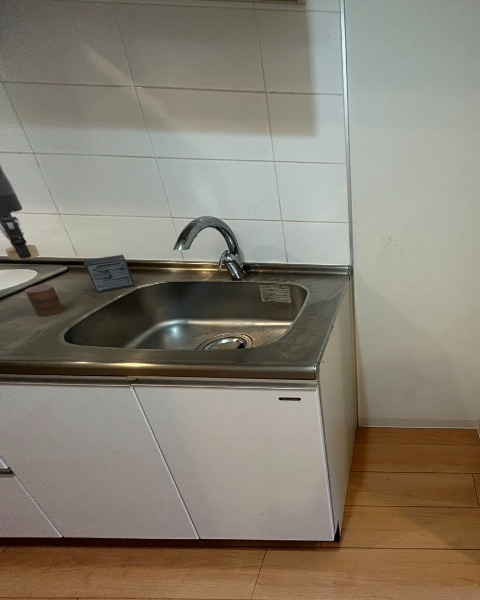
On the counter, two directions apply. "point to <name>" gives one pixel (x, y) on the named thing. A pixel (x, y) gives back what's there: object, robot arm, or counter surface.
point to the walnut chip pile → (44, 300)
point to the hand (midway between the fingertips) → (23, 254)
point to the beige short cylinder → (14, 255)
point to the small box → (109, 273)
